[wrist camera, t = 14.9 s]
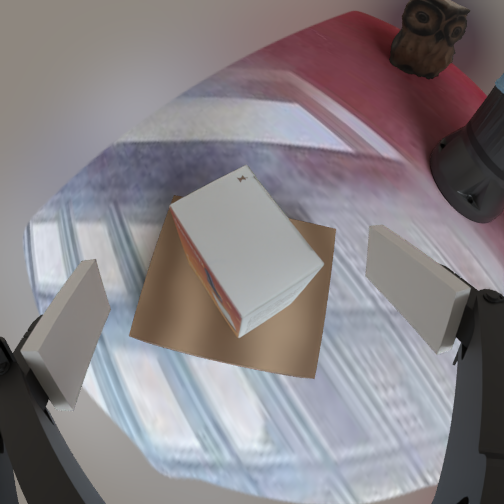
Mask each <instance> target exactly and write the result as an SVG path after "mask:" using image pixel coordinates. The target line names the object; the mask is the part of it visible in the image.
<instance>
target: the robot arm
mask: <svg viewBox="0 0 504 504" xmlns="http://www.w3.org/2000/svg"><path fill="white" fill-rule="evenodd" d="M495 84H496V85H495V86H494V88H493V89H492V91H491V92H490V94H489V95H488V96H487V98H486V99H485V100H484V102H483V103H482V105H481V106H480V107H479V109H478V110H477V111H476V113H475V114H474V115H473V117H472V118H471V119H470V121H469V122H468V123H467V125H466V126H464V127H462V128H460V129H459V130H457V131H455V132H453V133H452V134H450V135H448V136H446V137H445V138H443V139H442V140H441V141H440V142H439V143H438V144H437V145H436V147H435V148H434V149H433V151H432V153H431V158H430V164H431V170H432V173H433V176H434V179H435V181H436V183H437V185H438V187H439V189H440V190H441V192H442V194H443V195H444V196H445V198H446V199H447V200H448V201H449V203H450V204H451V205H452V206H453V207H454V208H455V209H456V210H457V211H458V212H460V213H461V214H462V215H463V216H465V217H466V218H468V219H470V220H472V221H475V222H478V223H488V222H491V221H492V220H494V219H495V218H496V217H497V216H499V215H500V214H501V213H502V212H503V210H504V73H503V75H502V76H501V77H500V78H499V79H497V80H496V82H495ZM365 276H366V277H367V278H368V279H369V280H370V281H371V282H372V283H373V285H374V286H375V287H376V288H377V289H378V290H379V291H380V292H381V293H382V294H383V295H384V296H385V297H386V298H387V299H388V301H389V302H390V303H391V304H392V305H393V306H394V307H395V308H396V309H397V310H398V311H399V313H400V314H401V315H402V316H403V317H404V318H405V319H406V320H407V321H408V323H409V324H410V325H411V326H412V327H413V328H414V329H415V330H416V332H417V333H418V334H419V335H420V336H421V337H422V338H423V339H424V341H425V342H426V343H427V344H428V345H429V346H430V348H431V349H432V350H433V351H434V352H435V353H436V355H439V354H442V353H444V352H447V351H449V350H451V349H452V347H453V344H454V341H455V338H456V337H457V338H458V339H459V340H460V341H461V344H460V347H459V349H458V352H457V355H456V357H455V360H454V362H453V365H455V364H456V362H457V361H458V366H457V379H456V389H455V399H454V407H453V414H452V421H451V427H450V433H449V439H448V444H447V449H446V454H445V458H444V463H443V467H442V471H441V476H440V479H439V483H438V487H437V491H436V494H435V497H434V500H433V502H432V504H504V297H503V296H502V295H501V294H500V293H498V292H496V291H493V290H490V289H483V290H480V291H478V290H477V289H475V288H474V287H473V286H471V285H470V284H469V283H467V282H466V281H465V280H464V279H462V278H460V276H458V275H457V274H456V273H455V274H454V272H453V271H451V270H450V269H449V268H447V267H446V266H444V265H441V264H439V263H437V262H436V261H434V260H433V259H432V258H430V257H429V256H427V255H426V254H425V253H423V252H422V251H420V250H419V249H418V248H416V247H415V246H413V245H412V244H410V243H409V242H407V241H406V240H404V239H403V238H402V237H400V236H399V235H397V234H396V233H394V232H393V231H391V230H390V229H388V228H387V227H385V226H384V225H375V226H369V240H368V253H367V264H366V274H365ZM110 310H111V308H110V305H109V302H108V299H107V296H106V293H105V289H104V286H103V283H102V279H101V276H100V273H99V269H98V265H97V262H96V259H93V260H85V261H81V263H80V264H79V265H78V267H77V268H76V269H75V271H74V272H73V273H72V275H71V276H70V277H69V279H68V280H67V281H66V283H65V284H64V286H63V287H62V288H61V290H60V291H59V293H58V294H57V295H56V297H55V298H54V300H53V301H52V303H51V304H50V305H49V307H48V308H47V310H46V311H45V313H44V314H43V315H40V316H39V317H38V318H37V319H36V320H35V321H34V322H33V323H32V324H31V326H30V327H29V329H28V332H26V333H25V335H24V338H22V340H21V341H20V343H19V344H18V346H17V347H16V349H15V351H14V352H13V353H12V351H11V350H10V348H9V346H8V344H7V342H6V340H5V339H4V338H3V337H0V504H19V503H18V497H17V492H16V486H15V480H14V473H13V470H14V472H15V475H16V477H17V480H18V482H19V485H20V487H21V489H22V492H23V494H24V496H25V498H26V500H27V503H28V504H106V503H105V502H104V501H103V499H102V498H101V497H100V495H99V494H98V492H97V491H96V489H95V488H94V487H93V485H92V484H91V482H90V481H89V479H88V478H87V476H86V475H85V473H84V472H83V470H82V469H81V467H80V465H79V464H78V463H77V461H76V459H75V458H74V456H73V454H72V453H71V451H70V449H69V447H68V446H67V444H66V442H65V440H64V438H63V437H62V435H61V433H60V431H59V429H58V427H57V426H56V424H55V422H54V420H53V418H52V416H51V414H50V412H49V411H48V409H47V408H46V405H47V402H48V400H50V401H51V403H52V404H53V406H54V407H55V409H56V410H64V411H74V408H75V405H76V402H77V399H78V396H79V393H80V390H81V387H82V384H83V381H84V378H85V375H86V372H87V369H88V367H89V364H90V361H91V358H92V356H93V353H94V350H95V348H96V345H97V342H98V340H99V337H100V335H101V332H102V330H103V327H104V325H105V322H106V320H107V317H108V315H109V312H110Z"/></svg>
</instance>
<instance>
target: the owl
mask: <svg viewBox="0 0 504 504" xmlns="http://www.w3.org/2000/svg"><path fill="white" fill-rule="evenodd" d="M469 12H470V10H469V9H467V8H465V7H463V6H460V5H458V4H456V3H454V2H452V1H450V0H410V1H409V2H408V3H407V5H406V8H405V10H404V13H403V15H402V29H401V30H400V32H399V33H398V34H397V35H396V36H395V38H394V40H393V42H392V46H391V56H390V59H389V60H390V63H391V64H392V65H393V66H395V67H397V68H399V69H400V70H402V71H404V72H405V73H408V74H416V75H417V76H419V77H421V76H422V77H426V78H427V79H433V78H434V77H435V76H438V75H439V73H440V72H441V71H443V70H444V69H446V68H447V66H448V65H449V64H450V63H452V61H453V55H454V54H455V50H454V43H455V42H457V41H458V40H460V39H461V38H462V36H463V35H464V33H465V29H466V27H467V20H466V16H467V14H468V13H469Z"/></svg>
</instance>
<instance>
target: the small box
mask: <svg viewBox="0 0 504 504" xmlns="http://www.w3.org/2000/svg"><path fill="white" fill-rule="evenodd" d="M169 208H170V211H171V213H172V216H173V219H174V222H175V225H176V228H177V231H178V234H179V237H180V240H181V243H182V246H183V249H184V251H185V254H186V257H187V260H188V263H189V265H190V266H191V268H192V269H193V271H194V272H195V274H196V275H197V277H198V278H199V280H200V281H201V283H202V284H203V286H204V287H205V289H206V290H207V292H208V294H209V295H210V297H211V298H212V300H213V301H214V303H215V305H216V306H217V308H218V309H219V311H220V312H221V314H222V315H223V317H224V319H225V320H226V322H227V323H228V325H229V326H230V328H231V329H232V331H233V332H234V334H235V335H236V336H237V337H238V338H240V337H242V336H243V335H245V334H246V333H248V332H250V331H251V330H253V329H254V328H256V327H257V326H259V325H261V324H262V323H264V322H265V321H267V320H268V319H270V318H271V317H273V316H274V315H276V314H277V313H279V312H280V311H281V310H283V309H284V308H286V307H287V306H289V305H290V304H291V303H292V302H293V301H294V300H295V299H296V297H297V296H298V295H299V294H300V293H301V292H302V291H303V289H304V288H305V287H306V286H307V285H308V283H309V282H310V281H311V280H312V279H313V277H314V276H315V275H316V274H317V273H318V272H319V270H320V269H321V268H322V267H323V265H324V262H323V261H322V260H321V258H320V257H319V256H318V255H317V254H316V252H315V251H314V250H313V249H312V248H311V246H310V245H309V244H308V243H307V242H306V240H305V239H304V238H303V236H302V235H301V234H300V233H299V231H298V230H297V229H296V228H295V226H294V225H293V224H292V223H291V221H290V220H289V219H288V217H287V216H286V215H285V214H284V212H283V211H282V210H281V209H280V207H279V206H278V205H277V203H276V202H275V201H274V200H273V198H272V197H271V196H270V195H269V193H268V192H267V191H266V190H265V188H264V187H263V186H262V184H261V183H260V182H259V180H258V179H257V178H256V176H255V175H254V173H253V172H252V171H251V169H250V168H249V167H248V166H247V165H245V166H243V167H241V168H239V169H237V170H235V171H233V172H231V173H229V174H227V175H225V176H223V177H221V178H219V179H217V180H215V181H213V182H211V183H209V184H207V185H205V186H204V187H202V188H200V189H198V190H196V191H194V192H192V193H190V194H188V195H187V196H185V197H183V198H181V199H179V200H178V201H176V202H174V203H172V204H171V205H170V206H169Z"/></svg>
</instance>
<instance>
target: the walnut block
mask: <svg viewBox="0 0 504 504" xmlns="http://www.w3.org/2000/svg"><path fill="white" fill-rule="evenodd" d="M181 198H183V197H181V196H176V195H174V197H173V199H172V202H171V204H172V203H174V202H176V201H178V200H179V199H181ZM288 219H289V220H290V221H291V223H292V224H293V225H294V226H295V228H296V229H297V230H298V231H299V233H300V234H301V235H302V236H303V238H304V239H305V240H306V242H307V243H308V244H309V245H310V246H311V248H312V249H313V250H314V251H315V252H316V254H317V255H318V256H319V257H320V258H321V260H322V261H323V262H324V265H323V267H322V268H321V269H320V270H319V272H318V273H317V274H316V275H315V276H314V277H313V279H312V280H311V281H310V282H309V283H308V285H307V286H306V287H305V288H304V289H303V291H302V292H301V293H300V294H299V295H298V296H297V297H296V299H295V300H294V301H293V302H292V303H291V304H290V305H289V306H287V307H286V308H284V309H283V310H281V311H280V312H279V313H277V314H276V315H274V316H273V317H271V318H270V319H268V320H267V321H265V322H264V323H262V324H261V325H259V326H257V327H256V328H254V329H253V330H251V331H250V332H248V333H246V334H245V335H243V336H242V337H240V338H238V337H237V336H236V335H235V334H234V332H233V331H232V329H231V328H230V326H229V325H228V323H227V322H226V320H225V319H224V317H223V315H222V314H221V312H220V311H219V309H218V308H217V306H216V305H215V303H214V301H213V300H212V298H211V297H210V295H209V294H208V292H207V290H206V289H205V287H204V286H203V284H202V283H201V281H200V280H199V278H198V277H197V275H196V274H195V272H194V271H193V269H192V268H191V266H190V265H189V263H188V260H187V257H186V254H185V251H184V249H183V246H182V243H181V240H180V237H179V234H178V231H177V228H176V225H175V222H174V219H173V216H172V213H171V211H170V208H169V210H168V213H167V216H166V218H165V221H164V224H163V227H162V230H161V233H160V235H159V238H158V241H157V244H156V247H155V250H154V253H153V256H152V259H151V263H150V266H149V269H148V272H147V275H146V278H145V282H144V285H143V288H142V291H141V295H140V298H139V302H138V305H137V309H136V312H135V316H134V319H133V323H132V327H131V330H130V334H129V336H130V337H133V338H135V339H138V340H141V341H143V342H146V343H150V344H153V345H156V346H160V347H163V348H167V349H171V350H174V351H178V352H182V353H186V354H189V355H193V356H197V357H201V358H205V359H209V360H214V361H218V362H222V363H227V364H231V365H236V366H240V367H245V368H250V369H255V370H260V371H265V372H271V373H276V374H282V375H288V376H293V377H300V378H313V379H315V373H316V368H317V363H318V357H319V351H320V345H321V339H322V333H323V327H324V321H325V314H326V307H327V300H328V293H329V285H330V278H331V270H332V261H333V252H334V243H335V234H336V229H334V228H329V227H325V226H321V225H316V224H312V223H308V222H303V221H299V220H294V219H290V218H288Z"/></svg>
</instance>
